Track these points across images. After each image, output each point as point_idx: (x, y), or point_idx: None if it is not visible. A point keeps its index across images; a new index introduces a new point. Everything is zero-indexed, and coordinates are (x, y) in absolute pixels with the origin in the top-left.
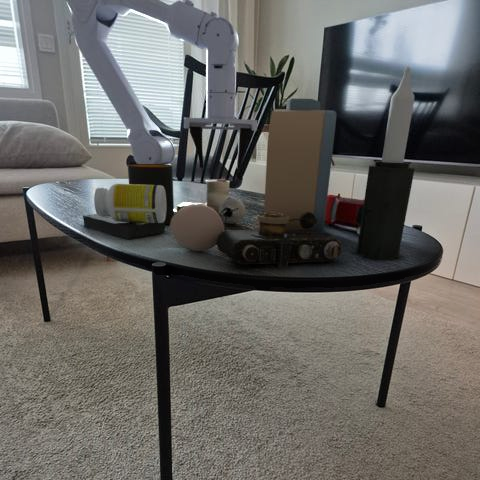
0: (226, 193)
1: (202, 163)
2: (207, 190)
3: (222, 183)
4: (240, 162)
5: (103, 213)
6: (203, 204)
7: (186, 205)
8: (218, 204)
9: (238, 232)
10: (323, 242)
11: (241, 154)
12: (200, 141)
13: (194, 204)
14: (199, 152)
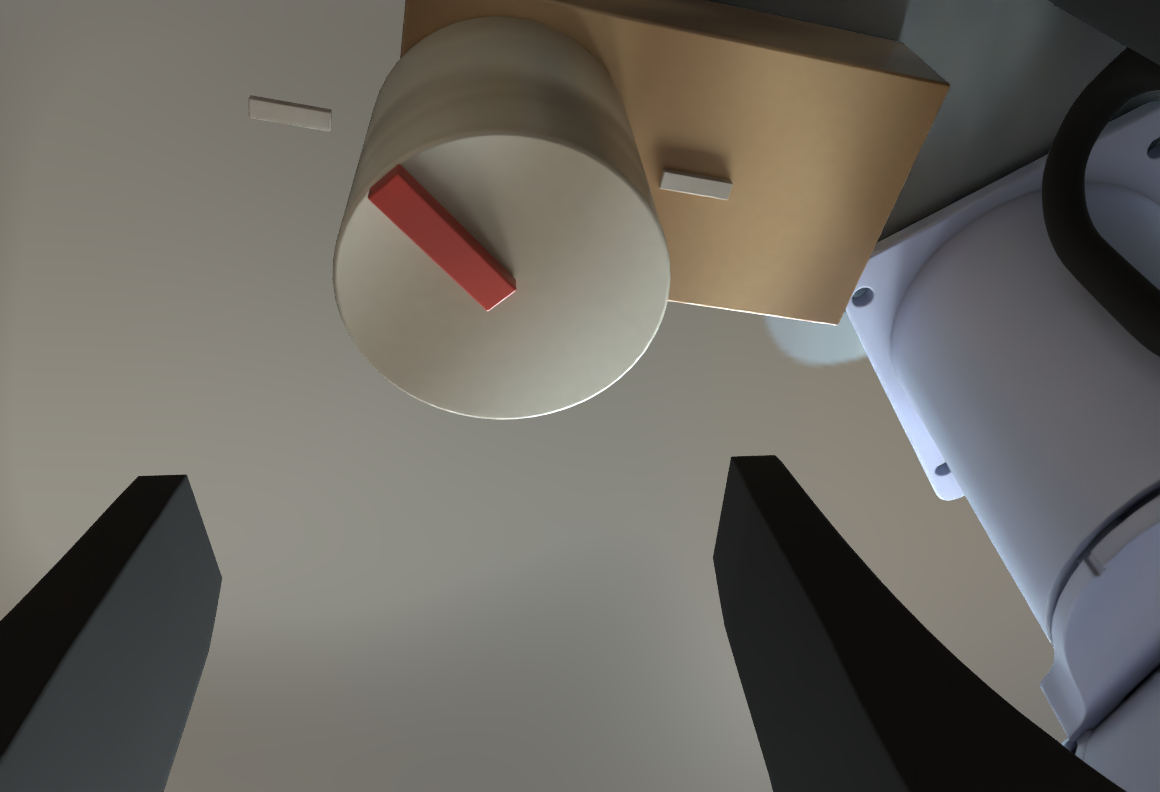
0: (380, 124)
1: (760, 489)
2: (638, 160)
3: (426, 132)
4: (96, 531)
5: None
6: None
7: (843, 127)
8: (487, 27)
9: None
10: None
11: (19, 633)
12: (934, 773)
13: (748, 202)
14: (867, 605)
